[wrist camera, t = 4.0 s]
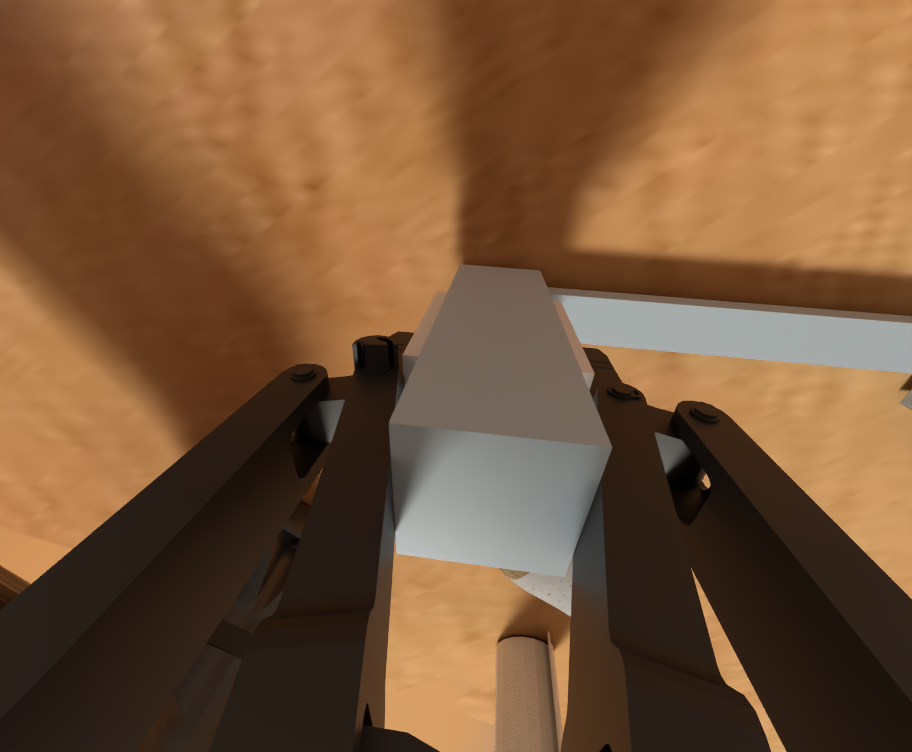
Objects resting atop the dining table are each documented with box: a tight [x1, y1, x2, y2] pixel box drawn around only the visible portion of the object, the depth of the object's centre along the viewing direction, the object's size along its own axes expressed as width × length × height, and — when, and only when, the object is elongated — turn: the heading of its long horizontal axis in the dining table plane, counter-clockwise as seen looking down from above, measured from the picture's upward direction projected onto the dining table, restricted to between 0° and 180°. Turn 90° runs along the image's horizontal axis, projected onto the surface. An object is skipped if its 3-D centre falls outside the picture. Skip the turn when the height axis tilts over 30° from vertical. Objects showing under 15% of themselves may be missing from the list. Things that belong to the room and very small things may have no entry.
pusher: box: [389, 264, 912, 577], centre depth 12 cm, size 26×7×13 cm, turn 87°
